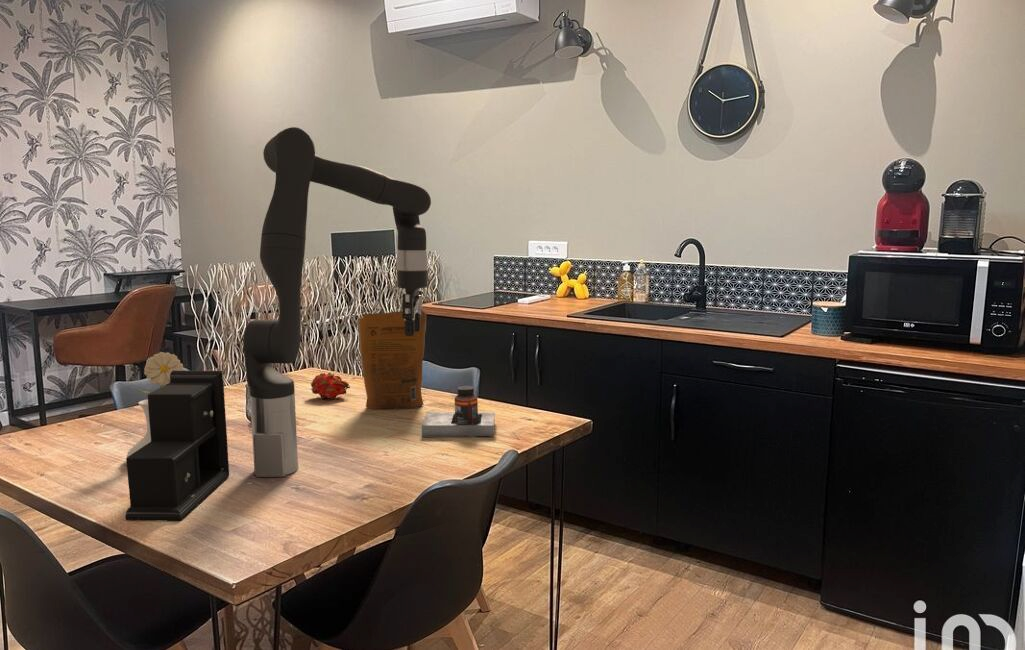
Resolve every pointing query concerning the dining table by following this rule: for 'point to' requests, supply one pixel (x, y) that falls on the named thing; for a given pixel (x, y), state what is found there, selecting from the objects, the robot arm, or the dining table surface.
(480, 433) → the grey block with hole
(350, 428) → the dining table surface
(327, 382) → the dragon fruit
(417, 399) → the pancake mix bag
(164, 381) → the flower in vase
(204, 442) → the black drawer cabinet
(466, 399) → the supplement bottle
